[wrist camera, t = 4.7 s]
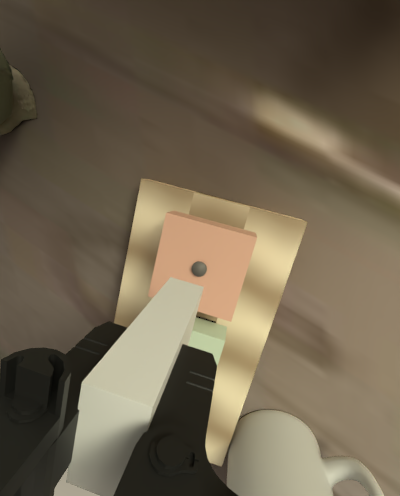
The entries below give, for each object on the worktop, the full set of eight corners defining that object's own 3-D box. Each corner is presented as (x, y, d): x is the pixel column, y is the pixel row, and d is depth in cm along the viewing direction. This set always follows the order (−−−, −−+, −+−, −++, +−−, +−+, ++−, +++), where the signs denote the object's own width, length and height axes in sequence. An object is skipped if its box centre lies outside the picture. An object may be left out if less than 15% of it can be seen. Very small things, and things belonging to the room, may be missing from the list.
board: (150, 179, 23) (141, 178, 21) (301, 219, 22) (307, 222, 20) (105, 405, 29) (95, 420, 27) (223, 447, 27) (221, 466, 26)
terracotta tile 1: (180, 208, 21) (165, 212, 17) (254, 228, 21) (257, 238, 17) (164, 277, 23) (146, 297, 19) (233, 298, 22) (230, 323, 18)
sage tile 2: (160, 293, 23) (142, 316, 19) (228, 314, 23) (225, 342, 18) (147, 353, 25) (127, 386, 20) (210, 374, 24) (203, 412, 20)
